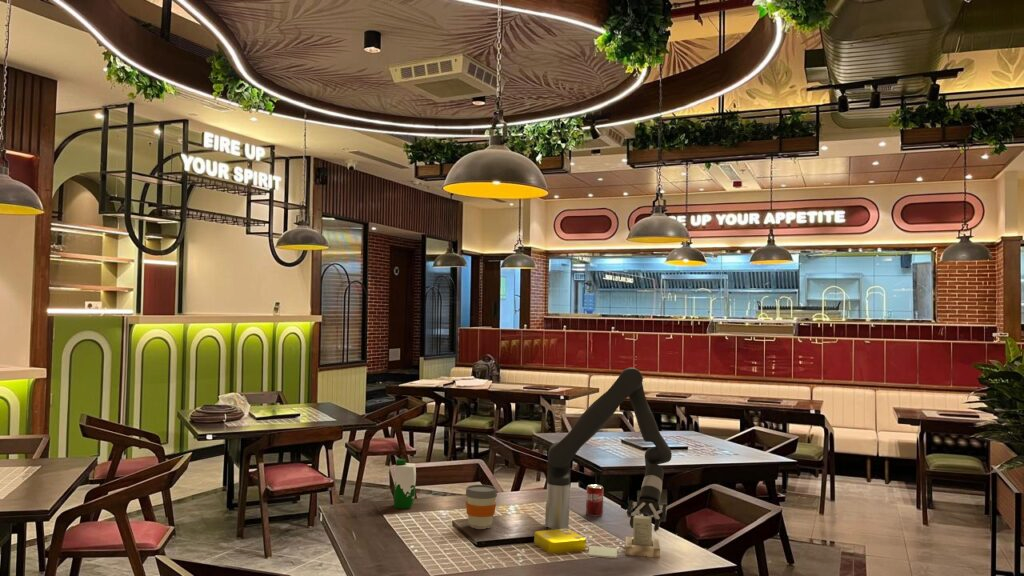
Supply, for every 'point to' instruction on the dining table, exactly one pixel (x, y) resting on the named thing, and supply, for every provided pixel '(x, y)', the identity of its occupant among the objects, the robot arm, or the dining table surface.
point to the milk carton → (404, 484)
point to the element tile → (559, 541)
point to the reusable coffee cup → (480, 504)
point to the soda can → (594, 500)
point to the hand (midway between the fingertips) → (643, 528)
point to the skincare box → (642, 530)
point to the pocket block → (642, 548)
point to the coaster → (602, 552)
